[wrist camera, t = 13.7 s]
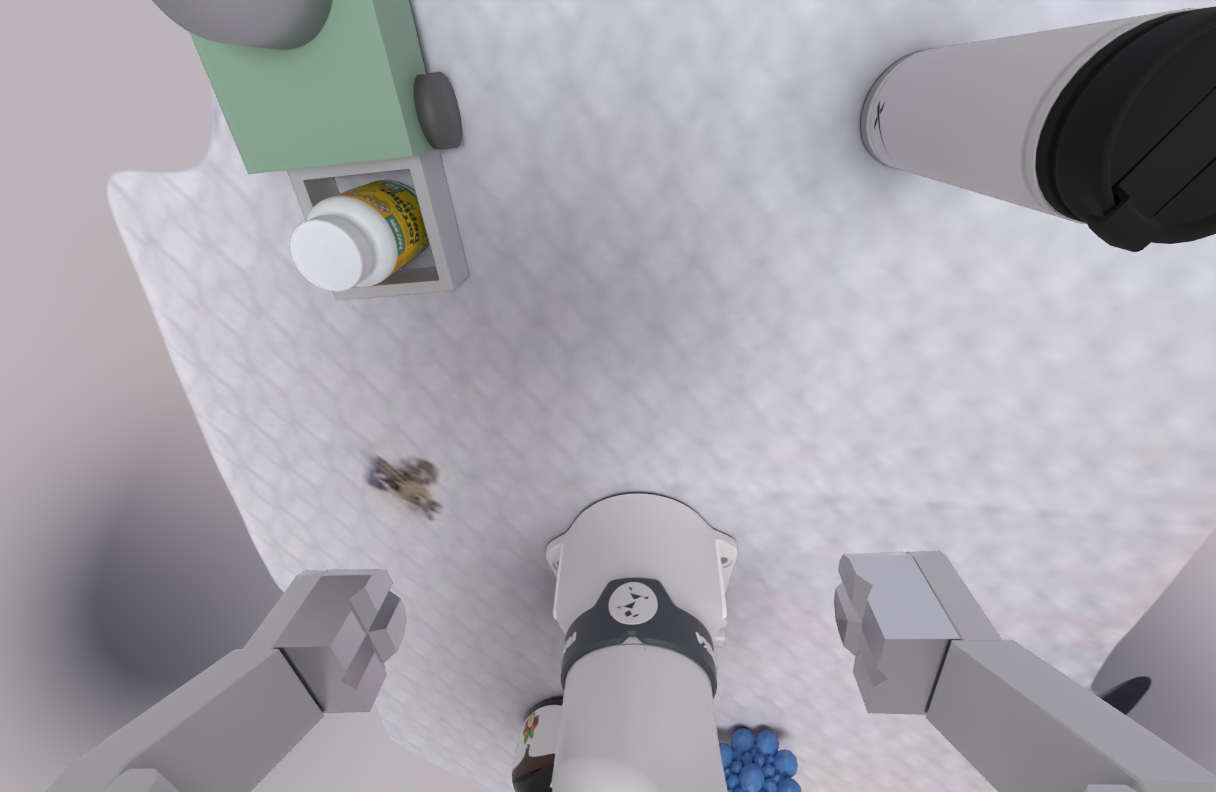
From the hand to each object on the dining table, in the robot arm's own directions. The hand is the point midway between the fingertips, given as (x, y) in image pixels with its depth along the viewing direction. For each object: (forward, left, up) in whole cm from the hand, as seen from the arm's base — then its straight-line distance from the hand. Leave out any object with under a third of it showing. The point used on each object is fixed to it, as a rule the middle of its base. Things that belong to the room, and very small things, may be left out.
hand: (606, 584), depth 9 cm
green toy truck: (+9, +17, -30) cm, 36 cm away
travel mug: (+5, -17, -31) cm, 36 cm away
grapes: (-65, -9, -31) cm, 73 cm away
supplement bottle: (+2, +17, -31) cm, 35 cm away
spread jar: (-63, +14, -31) cm, 72 cm away
